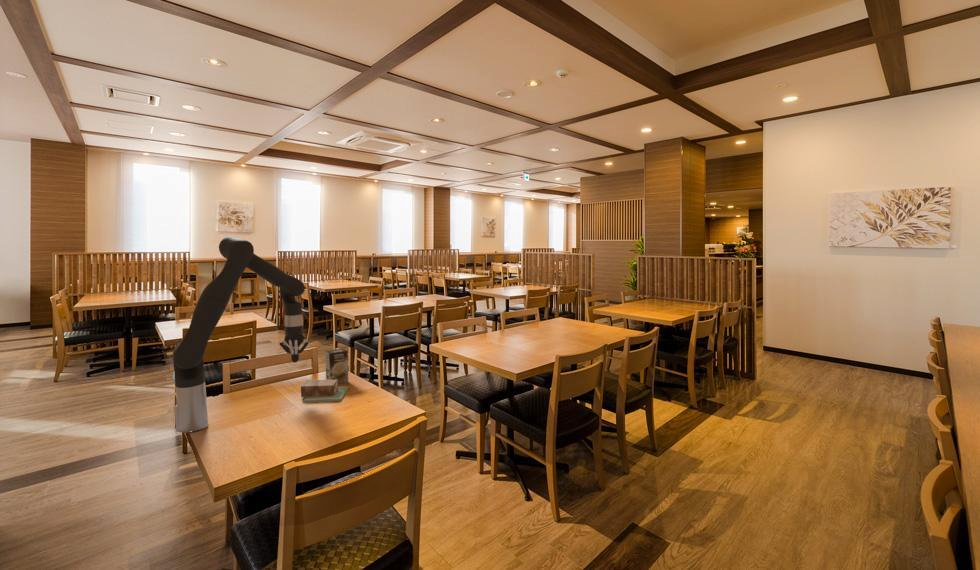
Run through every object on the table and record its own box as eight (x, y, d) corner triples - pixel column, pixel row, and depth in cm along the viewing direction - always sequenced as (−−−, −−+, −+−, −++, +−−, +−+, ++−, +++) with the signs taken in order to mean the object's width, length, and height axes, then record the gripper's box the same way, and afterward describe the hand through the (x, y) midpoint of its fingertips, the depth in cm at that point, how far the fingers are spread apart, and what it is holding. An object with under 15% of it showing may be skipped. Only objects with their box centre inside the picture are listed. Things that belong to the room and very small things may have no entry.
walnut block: (300, 386, 192) (333, 385, 194) (306, 380, 200) (337, 379, 202) (301, 397, 193) (334, 396, 195) (306, 390, 201) (338, 389, 203)
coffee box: (330, 386, 210) (329, 353, 208) (325, 382, 215) (324, 350, 213) (349, 382, 216) (347, 350, 214) (344, 378, 220) (343, 347, 219)
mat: (302, 402, 189) (302, 400, 189) (313, 389, 205) (313, 387, 205) (340, 400, 191) (340, 398, 191) (348, 388, 207) (348, 386, 207)
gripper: (275, 326, 190) (277, 364, 191) (306, 325, 191) (308, 364, 193) (281, 322, 197) (283, 359, 199) (311, 322, 198) (313, 359, 200)
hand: (295, 361), depth 196 cm, fingers closed
